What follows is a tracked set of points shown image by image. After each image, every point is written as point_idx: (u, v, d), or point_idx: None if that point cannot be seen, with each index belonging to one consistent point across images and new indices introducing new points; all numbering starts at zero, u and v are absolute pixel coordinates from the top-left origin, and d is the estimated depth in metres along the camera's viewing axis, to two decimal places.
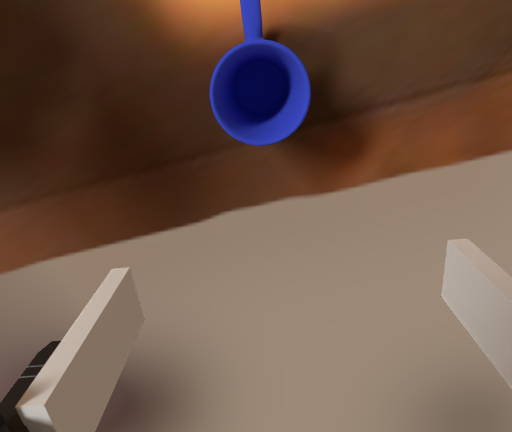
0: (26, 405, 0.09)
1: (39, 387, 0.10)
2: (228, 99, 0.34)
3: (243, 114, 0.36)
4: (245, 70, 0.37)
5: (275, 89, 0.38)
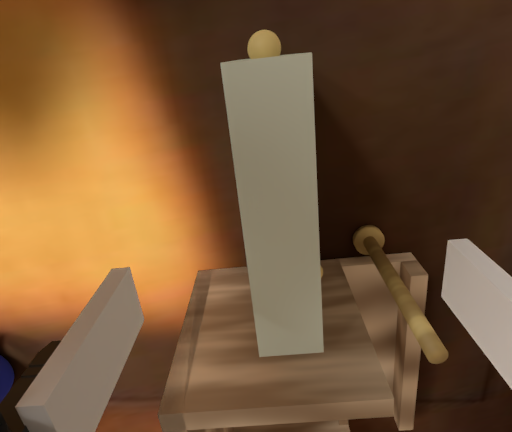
0: (26, 405, 0.09)
1: (39, 387, 0.10)
2: None
3: None
4: None
5: None
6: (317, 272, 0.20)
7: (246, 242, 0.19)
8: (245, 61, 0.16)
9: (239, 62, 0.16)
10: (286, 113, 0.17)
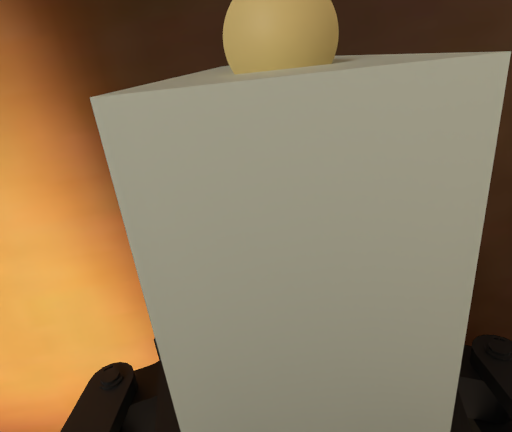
0: None
1: None
2: None
3: None
4: None
5: None
6: None
7: None
8: (202, 91, 0.04)
9: (175, 95, 0.04)
10: (367, 283, 0.04)
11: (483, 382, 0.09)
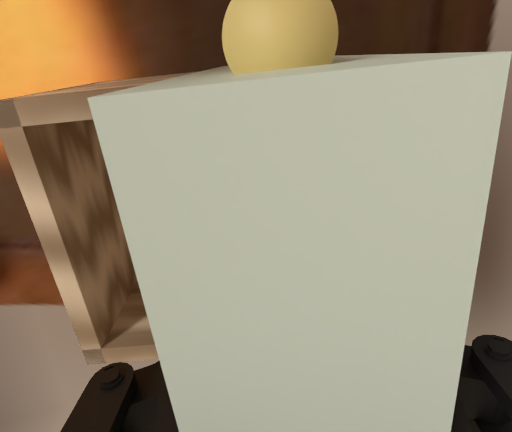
0: None
1: None
2: None
3: None
4: None
5: None
6: None
7: None
8: (200, 91, 0.04)
9: (173, 96, 0.04)
10: (367, 286, 0.04)
11: (483, 381, 0.09)
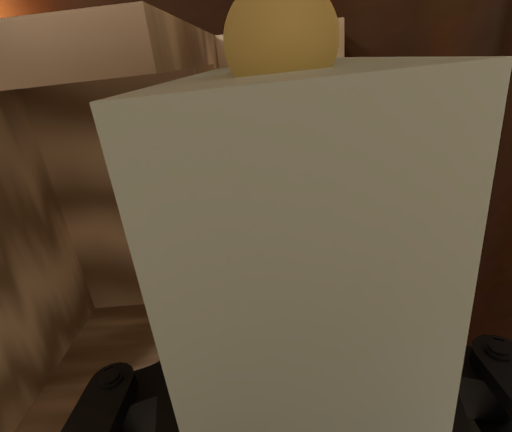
0: None
1: None
2: None
3: None
4: None
5: None
6: None
7: None
8: (202, 96, 0.04)
9: (175, 100, 0.04)
10: (368, 289, 0.04)
11: (483, 382, 0.09)
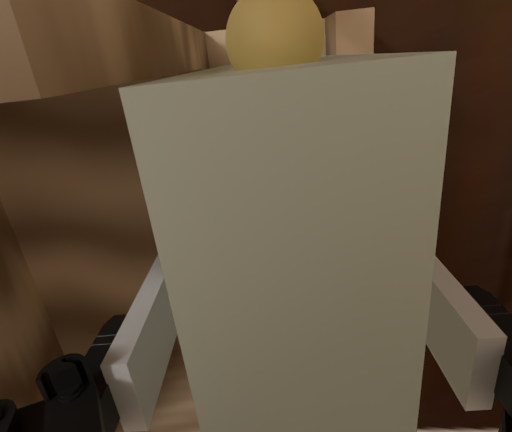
0: (110, 364, 0.10)
1: (118, 350, 0.11)
2: None
3: None
4: None
5: None
6: None
7: None
8: (209, 83, 0.04)
9: (187, 86, 0.04)
10: (346, 245, 0.05)
11: None
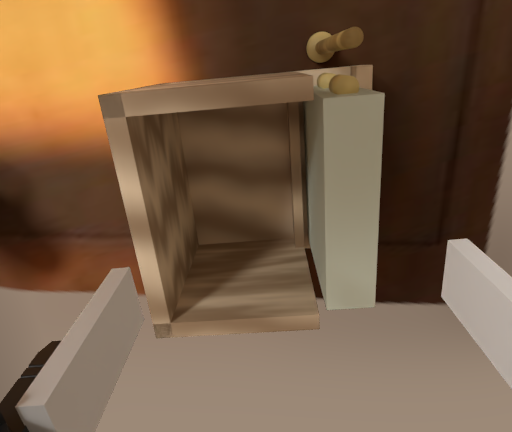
0: (26, 405, 0.09)
1: (39, 387, 0.10)
2: None
3: None
4: None
5: None
6: (375, 245, 0.28)
7: (326, 221, 0.27)
8: (340, 98, 0.24)
9: (336, 98, 0.24)
10: (364, 132, 0.25)
11: None
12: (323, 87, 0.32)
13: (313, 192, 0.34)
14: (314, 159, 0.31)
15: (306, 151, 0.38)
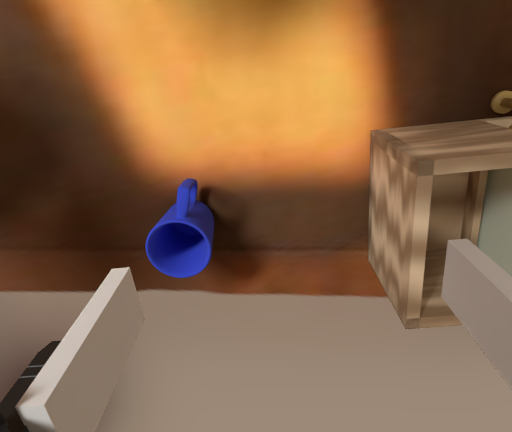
0: (26, 405, 0.09)
1: (39, 387, 0.10)
2: (162, 234, 0.49)
3: (173, 240, 0.52)
4: None
5: None
6: None
7: None
8: None
9: None
10: None
11: None
12: None
13: (509, 216, 0.45)
14: None
15: (488, 182, 0.48)
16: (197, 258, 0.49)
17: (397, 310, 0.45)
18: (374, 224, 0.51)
